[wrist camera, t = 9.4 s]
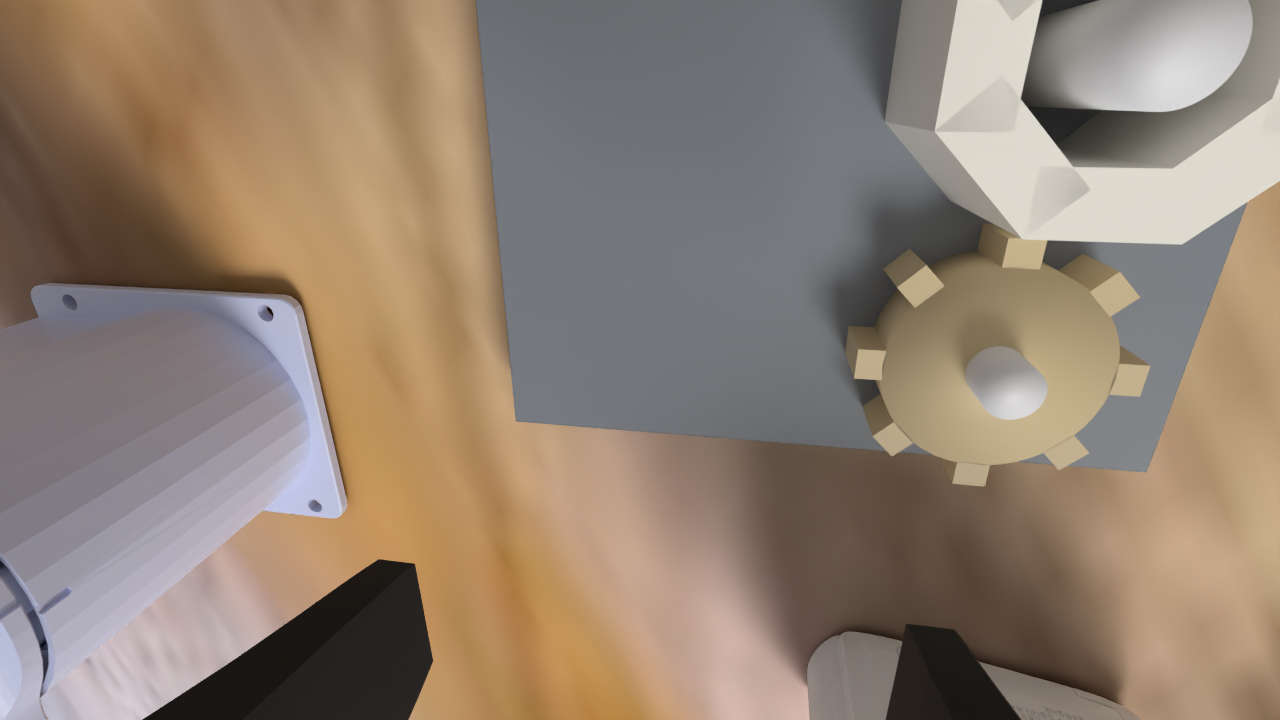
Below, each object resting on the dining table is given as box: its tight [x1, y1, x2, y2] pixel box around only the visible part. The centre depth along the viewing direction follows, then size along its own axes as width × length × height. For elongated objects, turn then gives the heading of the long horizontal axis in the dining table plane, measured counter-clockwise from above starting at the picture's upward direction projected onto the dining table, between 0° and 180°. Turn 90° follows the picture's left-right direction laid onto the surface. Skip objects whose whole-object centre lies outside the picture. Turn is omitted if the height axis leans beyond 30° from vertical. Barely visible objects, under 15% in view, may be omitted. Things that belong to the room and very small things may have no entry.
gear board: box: [476, 0, 1253, 487], centre depth 11 cm, size 16×18×6 cm
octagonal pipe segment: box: [885, 0, 1280, 245], centre depth 10 cm, size 5×5×4 cm
